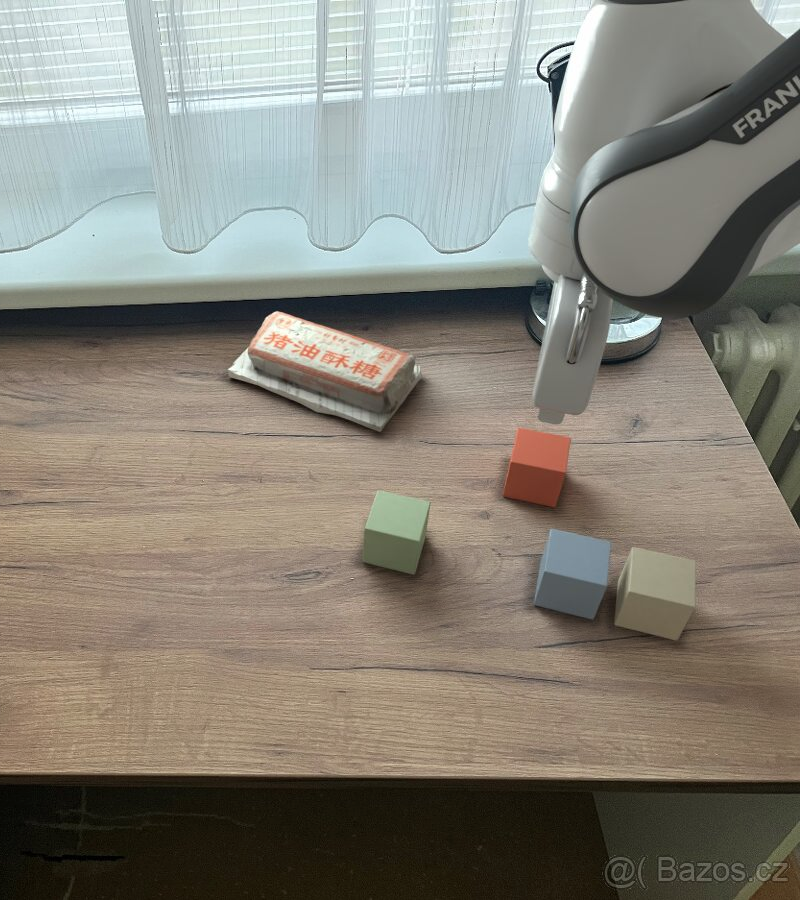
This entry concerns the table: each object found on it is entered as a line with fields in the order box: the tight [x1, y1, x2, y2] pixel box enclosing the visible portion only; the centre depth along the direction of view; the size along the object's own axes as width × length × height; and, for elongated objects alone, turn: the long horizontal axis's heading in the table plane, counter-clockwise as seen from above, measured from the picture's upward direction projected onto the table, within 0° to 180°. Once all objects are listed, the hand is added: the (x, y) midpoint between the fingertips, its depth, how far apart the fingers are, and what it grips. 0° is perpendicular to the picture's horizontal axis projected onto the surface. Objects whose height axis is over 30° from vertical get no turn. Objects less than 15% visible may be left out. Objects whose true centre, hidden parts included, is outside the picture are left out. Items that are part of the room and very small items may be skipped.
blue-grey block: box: [533, 528, 612, 620], centre depth 69 cm, size 4×4×4 cm
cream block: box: [613, 546, 697, 641], centre depth 67 cm, size 4×4×4 cm
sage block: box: [361, 489, 432, 576], centre depth 74 cm, size 4×4×4 cm
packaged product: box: [226, 310, 423, 433], centre depth 90 cm, size 18×5×10 cm
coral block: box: [502, 427, 572, 508], centre depth 78 cm, size 4×4×4 cm
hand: (556, 378), depth 70 cm, fingers open, 8 cm apart
